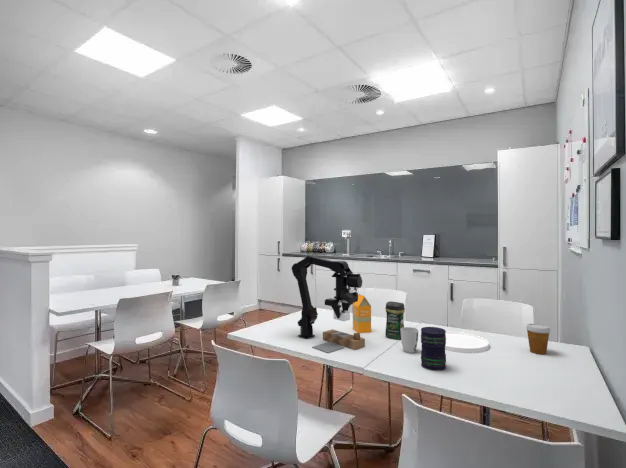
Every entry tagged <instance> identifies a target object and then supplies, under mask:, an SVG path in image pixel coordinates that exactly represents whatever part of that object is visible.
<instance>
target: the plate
mask: <svg viewBox="0 0 626 468" xmlns="http://www.w3.org/2000/svg"><path fill="white" fill-rule="evenodd" d="M445 331H446V333H445V334H446V345H445V352H446V351H448V352H451V353H460V354H462V353H463V354H476V353H477V354H478V353H482V352H487V351H488V350H489V348H490V342H489V340H488V339H486V338H485V337H484V336H483V337H482V336H479V335H477V334H474V333H470V332H469V333H468V332H463V331H462V332H461V331H454V330H453V331H451V330H450V331H448V330H445Z"/></svg>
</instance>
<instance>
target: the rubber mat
mask: <svg viewBox="0 0 626 468" xmlns="http://www.w3.org/2000/svg"><path fill="white" fill-rule="evenodd" d="M311 348H312V349H315V350H318V351H320V352H323V353H326V354H331V353H333V352H336V351H339V350H342V349H345V347H344V346H341V345H338V344H335V343H332V342H329V341H326V342H324V343H319V344H317V345H313V346H311Z"/></svg>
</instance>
